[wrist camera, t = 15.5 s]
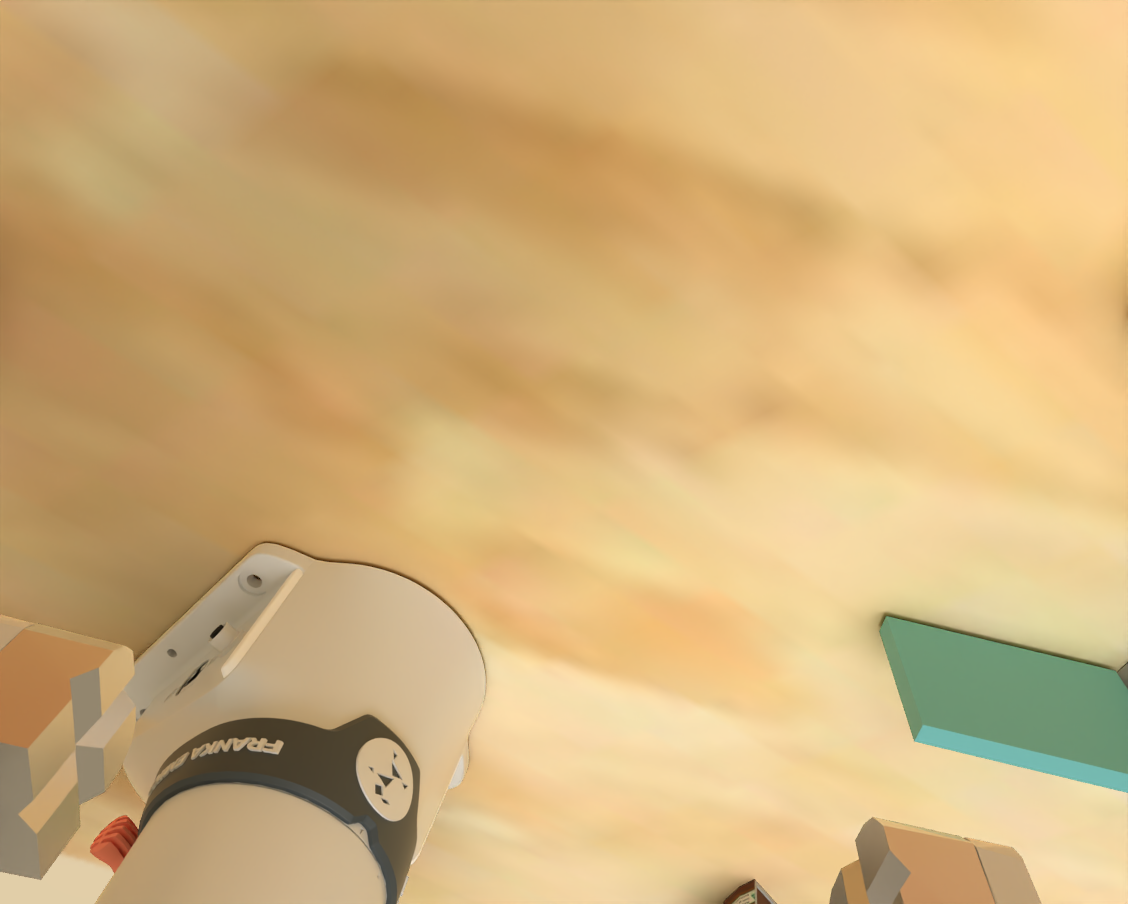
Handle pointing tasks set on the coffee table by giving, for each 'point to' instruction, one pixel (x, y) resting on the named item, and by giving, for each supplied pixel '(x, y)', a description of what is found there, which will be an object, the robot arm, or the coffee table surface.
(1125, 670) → the frame leaf
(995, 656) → the teal hinge knuckle plate
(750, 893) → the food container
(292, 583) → the robot arm
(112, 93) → the coffee table surface
